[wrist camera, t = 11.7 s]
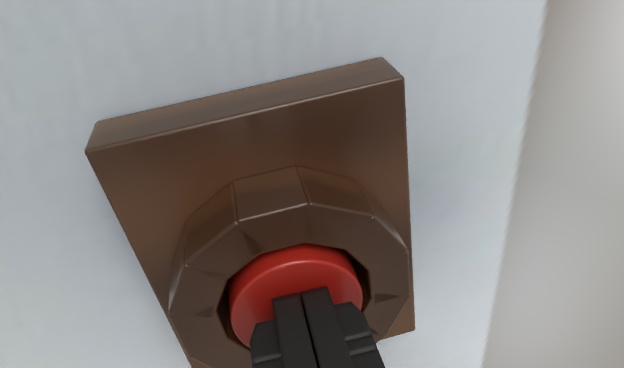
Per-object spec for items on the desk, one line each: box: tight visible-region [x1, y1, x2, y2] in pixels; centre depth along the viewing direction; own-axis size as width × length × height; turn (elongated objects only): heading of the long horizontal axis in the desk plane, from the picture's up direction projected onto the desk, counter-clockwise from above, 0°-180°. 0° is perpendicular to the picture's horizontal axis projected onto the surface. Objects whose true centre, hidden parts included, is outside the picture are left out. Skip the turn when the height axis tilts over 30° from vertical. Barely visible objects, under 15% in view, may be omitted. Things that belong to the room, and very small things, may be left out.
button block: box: [85, 57, 415, 368], centre depth 14 cm, size 10×8×4 cm
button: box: [227, 243, 363, 348], centre depth 13 cm, size 4×4×2 cm
